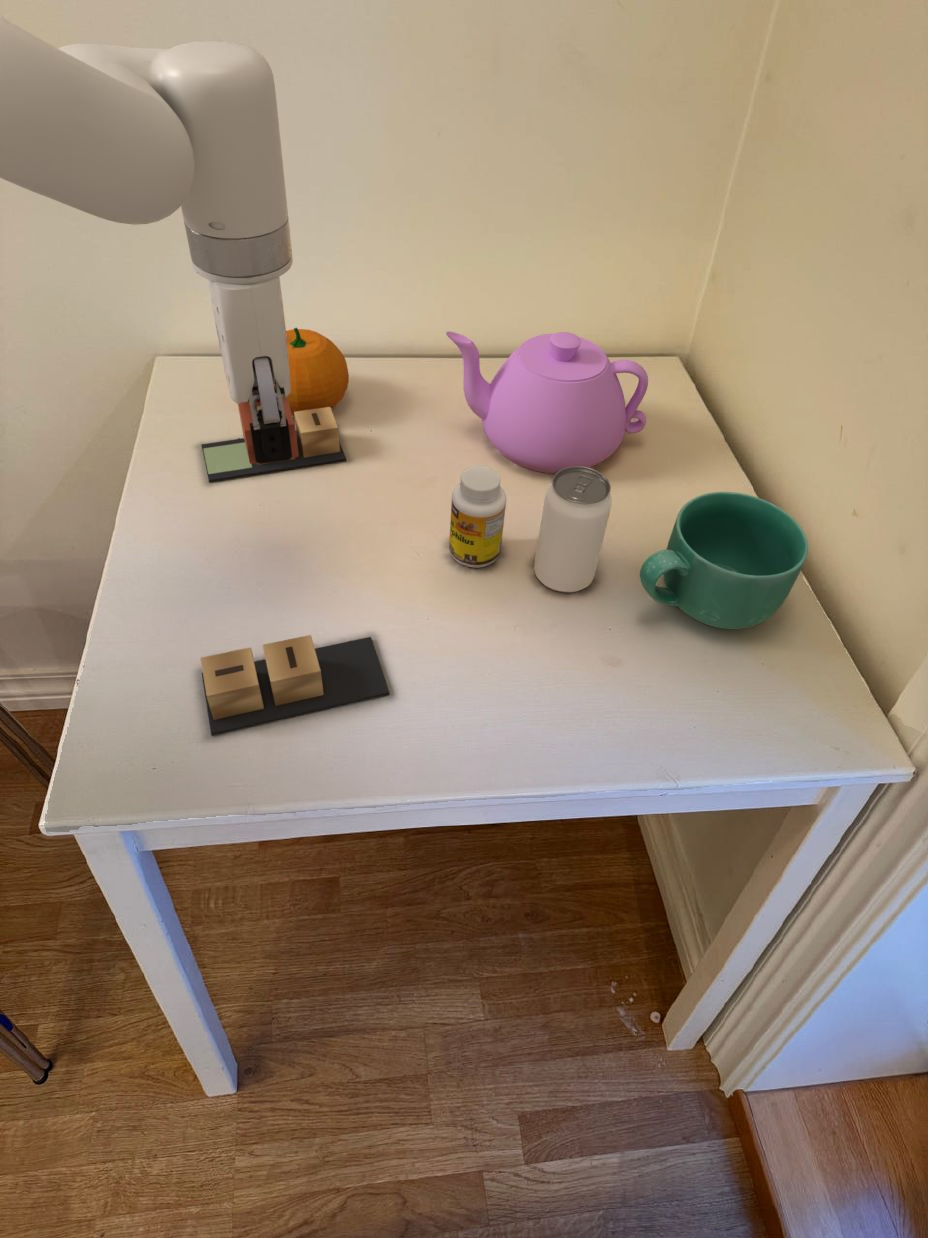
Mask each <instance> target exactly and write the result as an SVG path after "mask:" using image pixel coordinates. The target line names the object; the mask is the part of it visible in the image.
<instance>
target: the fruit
mask: <svg viewBox="0 0 928 1238" xmlns="http://www.w3.org/2000/svg"><path fill="white" fill-rule="evenodd" d="M286 337H287V347H288V358H289V370H290V385H291V392H290V394H289V395H288V396H287V400H288V403H289V406H290V410H291V413H292V416H293V417H295V416H294V412H297V411H304V410H311V409H318V408H325V407H331V410H333V409H334V408H335V407H336V406H337V405H338V404H339V403H340V402H341V401H342V400H343V399H344V397H345V394H346V392H347V389H348V386H349V381H350V375H349V369H348V364H347V360H346V357H345V355H344V354H343V353H342V351H341V350H340V349H339V347H338V346H337V345H336V344H335V343H334V342H333V341H332V340H331V339H329V337H328V338H327V337H326V336H325V335H324V334H323V335H322V334H321V333H319V332H317V331H314V330H311V329H306V328H305V329H304V328H298V327H294V328H293V329H292V328H291V329H288V330H286ZM274 386H275V385H274ZM282 397H284V395H282Z"/></svg>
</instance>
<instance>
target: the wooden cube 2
mask: <svg viewBox="0 0 928 1238" xmlns="http://www.w3.org/2000/svg"><path fill="white" fill-rule="evenodd" d="M262 651H263V655H264V659H265V661H266V666H267V671H268V675H269V680H270V684H271V689H272V693H273V698H274V702H275V706H278V705H282V704H287V703H291V702H296V701H300V700H304V699H309V698H313V697H318V696H322V695H324V692H323V684H322V676H321V670H320V666H319V662H318V659H317V655H316V651H315V645H314V640H313V637H312V635H311V634H308V635H303V636H298V637H294V638H289V639H284V640H278V641H274V642H270V643H265V644H262Z"/></svg>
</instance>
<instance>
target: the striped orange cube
mask: <svg viewBox="0 0 928 1238" xmlns="http://www.w3.org/2000/svg"><path fill="white" fill-rule="evenodd" d="M282 398H283V405H284V412H285V419H287V420H288V427H289V435H290V443H291V451H292V458H295V457H298V456H299V455H298V447H297V438H296V425H295V419H294V416H292V413H291V410H290V406H289V403H288V400H287V397H286V398H284V397H282ZM237 406H238V413H239V418H240V425H241V430H242V437H243V438H244V441H245V445H246V450H247V454H248V458H249V463H250V464H253V463H257V462H256V459H255V453H254V447H253V441H252V435H251V429H250V423H253V422H252V416H251V410H250V405H249V401H248V402H240V404H237ZM256 406H257V412H258V410H261V409H262V408H261V402H260V401H257V402H256Z"/></svg>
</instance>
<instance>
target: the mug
mask: <svg viewBox="0 0 928 1238" xmlns="http://www.w3.org/2000/svg"><path fill="white" fill-rule="evenodd" d="M808 553H809V543H808V539H807V535H806V533H805V531H804V529H803V528H802V526H801V525H800V524H799V523H798V522H797V520H796V519H795V518H793V516H791V515H790V514H789V513H788V512H787V511H785V510H783V509H782V508H781V507H779V506H778V505H775V504H773V503H772V502H770V501H767V500H766V499H762V498H760V497H757V496H754V495H750V494H747V493H740V492H734V491H715V492H714V491H713V492H707V493H704V494H700V495H697V496H695V497H694V498H692V499H690V500H689V501H687V502H686V503H685V504H683V506H682V507H681V509H680V510H679V512H678V513H677V516H676V519H675V521H674V524H673V528H672V530H671V533H670V537H669V539H668V542H667V546H666V549H661V550H658V551H656V552H654V553H652V554H651V555H650V556H648V557H647V558H646V559H645V560H644V562H643V563H642V565H641V568H640V570H639V580H640V583H641V585H642V587H643V589H644V591H646V593H647V594H648V596H649V597H650V598H652V599H653V600H654V601H655V602H657V603H659V604H662V605H666V606H677V607H678V608H679V609H680V610H682V611H683V612H684V613H685V614H687V615H688V616H690V617H691V618H692V619H695V620H696V621H698V622H700V623H703V624H705V625H708V626H711V627H715V628H719V629H727V630H740V629H747V628H751V627H755V626H757V625H759V624H761V623H764V622H765V621H767V620H768V619H770V618H771V617H772V616H773V615H774V614H776V612H778V611H779V609H780V608H781V607H782V605H783V604H784V602H785V601H786V599H787V597H788V596H789V595H790V592H792V591H791V590H792V589H793V587H794V585H795V583H796V581H797V580H798V577H799V576H800V573H801V571H802V569H803V567H804V565H805V562H806V560H807V557H808ZM661 577H662V579H663V583H664V586H665V587H663V586H659V585H657V583H658V582H659V580H660V578H661Z"/></svg>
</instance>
